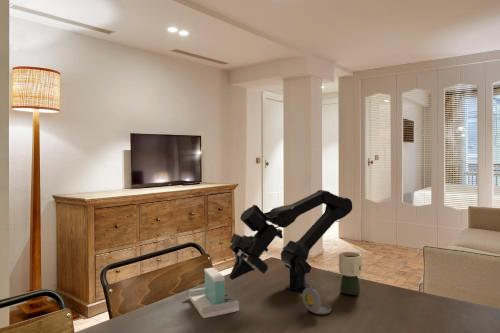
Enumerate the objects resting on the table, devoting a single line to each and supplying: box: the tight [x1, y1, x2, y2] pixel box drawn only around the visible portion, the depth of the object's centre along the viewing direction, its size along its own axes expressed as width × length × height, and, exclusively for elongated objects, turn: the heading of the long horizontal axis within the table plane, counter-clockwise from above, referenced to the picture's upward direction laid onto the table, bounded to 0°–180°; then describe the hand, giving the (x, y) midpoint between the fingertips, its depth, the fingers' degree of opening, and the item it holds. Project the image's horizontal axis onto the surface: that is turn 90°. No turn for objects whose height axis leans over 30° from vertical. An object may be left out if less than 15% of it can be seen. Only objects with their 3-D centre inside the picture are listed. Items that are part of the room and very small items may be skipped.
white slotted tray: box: [188, 286, 240, 319], centre depth 112 cm, size 11×15×3 cm
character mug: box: [338, 250, 362, 296], centre depth 119 cm, size 11×7×13 cm, turn 179°
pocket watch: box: [302, 279, 332, 315], centre depth 106 cm, size 8×8×10 cm
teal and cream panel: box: [203, 267, 226, 305], centre depth 112 cm, size 3×10×8 cm, turn 25°
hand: (230, 278), depth 114 cm, fingers closed
